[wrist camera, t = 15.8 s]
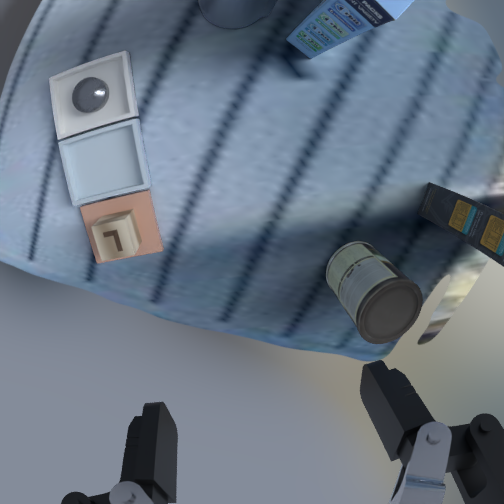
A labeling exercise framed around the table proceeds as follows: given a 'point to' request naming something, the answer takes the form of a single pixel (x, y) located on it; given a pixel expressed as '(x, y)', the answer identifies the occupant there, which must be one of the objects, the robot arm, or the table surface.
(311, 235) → the table surface
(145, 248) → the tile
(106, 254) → the letter cube
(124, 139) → the middle tray
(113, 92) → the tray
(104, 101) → the grey domed disc
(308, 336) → the table surface
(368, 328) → the coffee can
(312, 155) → the table surface
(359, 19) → the gum box
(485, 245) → the cake mix box
